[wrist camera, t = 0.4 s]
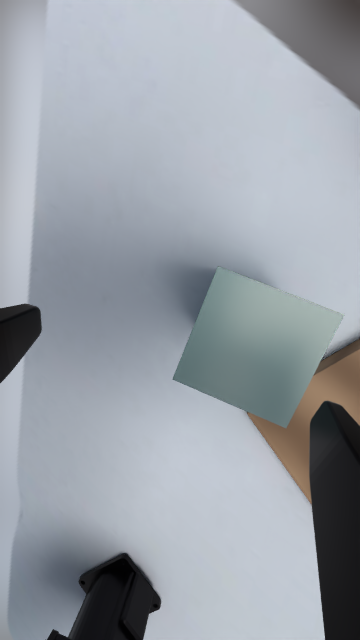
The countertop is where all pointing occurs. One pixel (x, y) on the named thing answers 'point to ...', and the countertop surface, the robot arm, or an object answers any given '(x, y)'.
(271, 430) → the stand
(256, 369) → the tall sage green block
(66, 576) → the countertop surface
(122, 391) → the countertop surface
